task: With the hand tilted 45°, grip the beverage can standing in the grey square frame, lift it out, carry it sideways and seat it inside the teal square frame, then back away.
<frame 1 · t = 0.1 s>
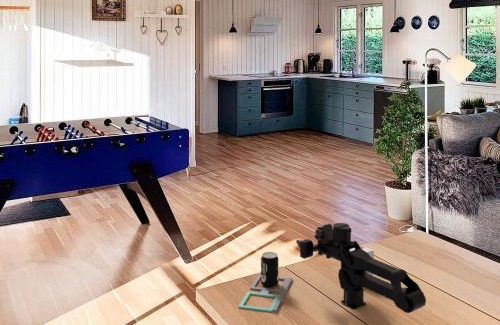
hand: (305, 238, 210), 17 cm above the table, tool horizontal, fingers open, 9 cm apart
beverage can: (269, 284, 210), resting in grey square frame
teal square frame: (259, 302, 195), on the table
grey square frame: (269, 284, 209), on the table
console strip: (264, 293, 202), on the table
light bulb box: (357, 277, 216), on the table
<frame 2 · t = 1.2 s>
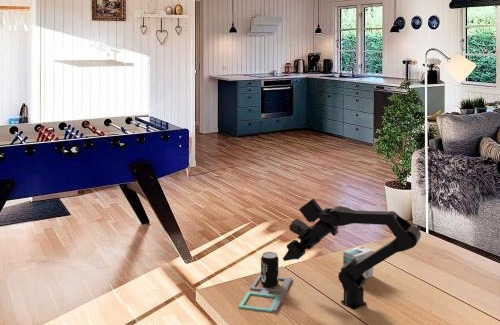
hand: (289, 255, 203), 13 cm above the table, tool tilted 45°, fingers open, 9 cm apart
nothing on the table moved.
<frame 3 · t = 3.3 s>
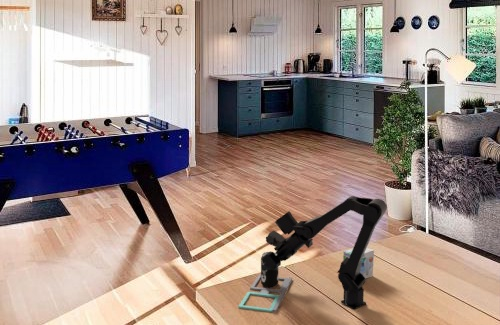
hand: (266, 266, 209), 7 cm above the table, tool tilted 45°, fingers closed on beverage can, 7 cm apart
beverage can: (269, 284, 210), resting in grey square frame, touching gripper
everything else where it was.
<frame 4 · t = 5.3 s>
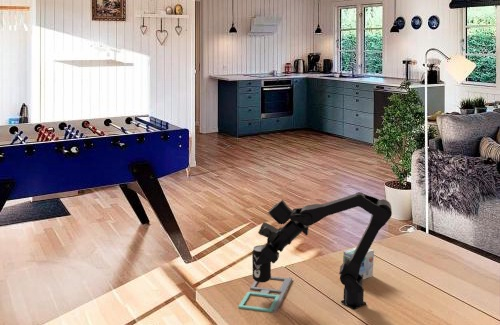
hand: (257, 260, 198), 13 cm above the table, tool tilted 45°, fingers closed on beverage can, 7 cm apart
beverage can: (261, 279, 200), point 6 cm above the table, touching gripper
everything else where it was.
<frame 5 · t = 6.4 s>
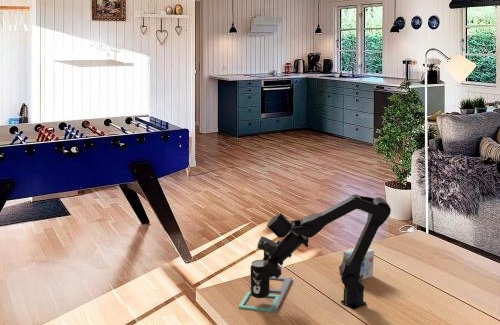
hand: (256, 275, 193), 10 cm above the table, tool tilted 45°, fingers closed on beverage can, 7 cm apart
beverage can: (260, 295, 195), point 3 cm above the table, touching gripper
everything else where it was.
when the fingers open (8 cm above the table, at t = 7.2 s): beverage can drops 1 cm, resting in teal square frame.
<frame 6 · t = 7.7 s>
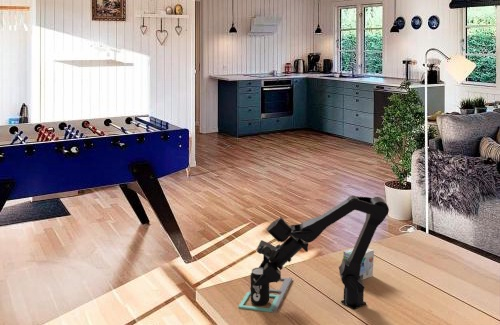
hand: (255, 279, 194), 9 cm above the table, tool tilted 45°, fingers open, 9 cm apart
beverage can: (259, 302, 195), resting in teal square frame
everything else where it was.
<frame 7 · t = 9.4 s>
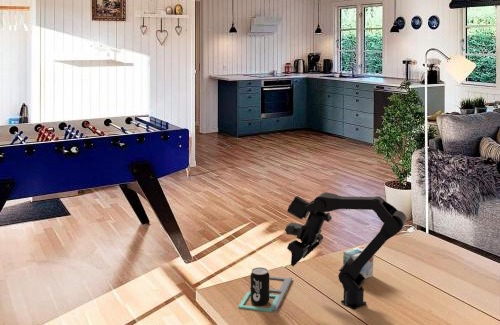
hand: (297, 261, 200), 12 cm above the table, tool tilted 20°, fingers open, 9 cm apart
nothing on the table moved.
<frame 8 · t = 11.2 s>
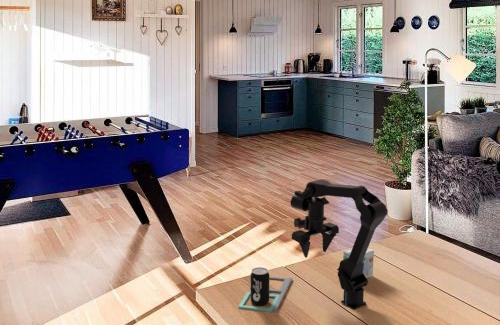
hand: (315, 254, 204), 13 cm above the table, tool pointing down, fingers open, 9 cm apart
nothing on the table moved.
at the end: beverage can 0.1 cm from the teal square frame (horizontally); beverage can tilted 0°; the gripper is holding nothing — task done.
